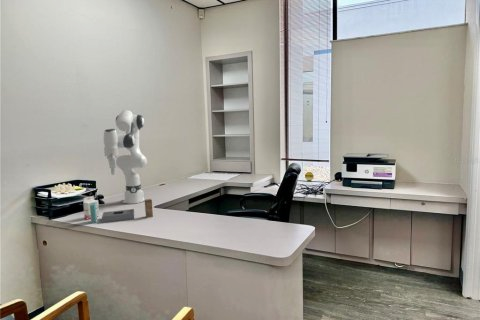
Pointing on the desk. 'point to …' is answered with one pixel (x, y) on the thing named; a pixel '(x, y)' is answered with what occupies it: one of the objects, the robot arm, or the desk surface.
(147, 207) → the walnut square bit
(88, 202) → the ink cartridge box
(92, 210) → the teal flat bit
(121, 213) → the metal bore block
